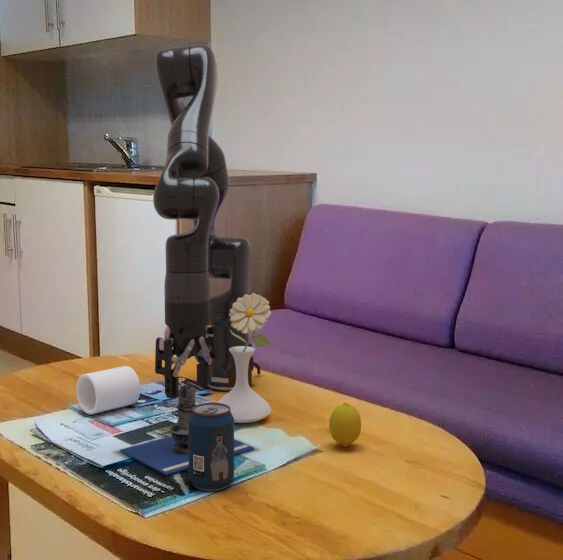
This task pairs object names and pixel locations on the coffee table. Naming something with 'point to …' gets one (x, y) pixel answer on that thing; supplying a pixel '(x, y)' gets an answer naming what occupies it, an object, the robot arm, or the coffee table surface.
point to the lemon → (345, 424)
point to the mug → (107, 389)
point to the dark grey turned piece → (183, 419)
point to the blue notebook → (168, 455)
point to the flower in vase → (247, 359)
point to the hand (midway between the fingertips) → (188, 391)
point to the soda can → (211, 446)
